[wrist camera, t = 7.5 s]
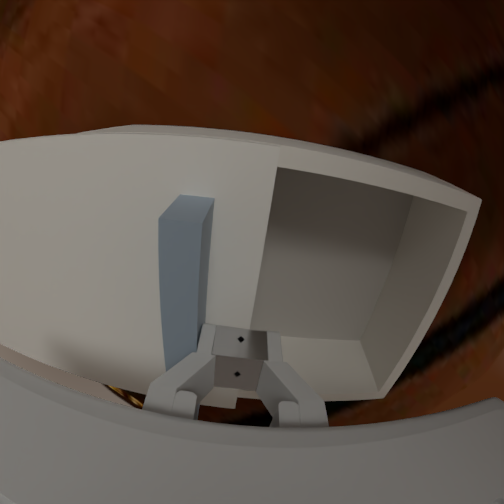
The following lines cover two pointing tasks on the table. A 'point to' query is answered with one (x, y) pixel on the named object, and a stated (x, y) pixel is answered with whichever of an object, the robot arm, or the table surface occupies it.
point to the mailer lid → (129, 249)
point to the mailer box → (350, 261)
